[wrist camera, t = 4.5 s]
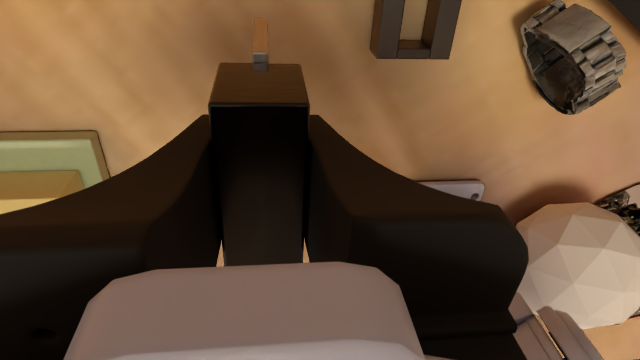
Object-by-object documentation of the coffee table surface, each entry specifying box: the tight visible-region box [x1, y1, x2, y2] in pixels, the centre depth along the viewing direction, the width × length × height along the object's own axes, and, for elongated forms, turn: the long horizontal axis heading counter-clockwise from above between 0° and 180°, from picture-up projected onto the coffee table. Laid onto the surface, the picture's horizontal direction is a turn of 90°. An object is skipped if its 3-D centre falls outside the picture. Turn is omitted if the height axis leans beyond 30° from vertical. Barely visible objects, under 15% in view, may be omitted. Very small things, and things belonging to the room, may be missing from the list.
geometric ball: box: [516, 202, 640, 330], centre depth 26 cm, size 8×8×8 cm
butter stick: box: [0, 170, 84, 214], centre depth 21 cm, size 4×6×2 cm, turn 87°
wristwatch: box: [520, 0, 626, 115], centre depth 20 cm, size 3×5×5 cm
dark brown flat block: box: [208, 18, 310, 267], centre depth 12 cm, size 6×2×6 cm, turn 177°
